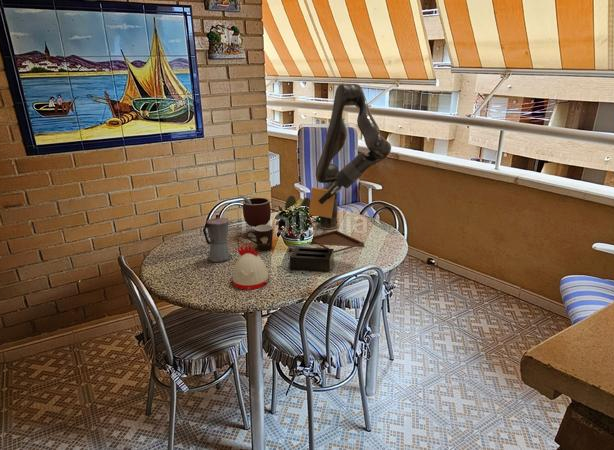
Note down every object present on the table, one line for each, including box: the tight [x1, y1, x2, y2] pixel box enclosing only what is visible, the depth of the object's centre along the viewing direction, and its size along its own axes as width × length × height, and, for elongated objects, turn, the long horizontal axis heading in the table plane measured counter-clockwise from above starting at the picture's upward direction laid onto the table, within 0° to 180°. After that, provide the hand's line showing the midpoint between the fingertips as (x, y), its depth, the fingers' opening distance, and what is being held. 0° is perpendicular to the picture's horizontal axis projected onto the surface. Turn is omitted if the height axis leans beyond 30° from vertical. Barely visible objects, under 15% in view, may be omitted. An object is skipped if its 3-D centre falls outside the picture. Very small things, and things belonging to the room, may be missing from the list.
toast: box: [309, 186, 335, 218], centre depth 174 cm, size 10×1×12 cm, turn 78°
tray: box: [310, 230, 365, 254], centre depth 191 cm, size 21×17×2 cm
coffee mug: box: [245, 224, 274, 252], centre depth 188 cm, size 12×9×10 cm
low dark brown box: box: [289, 246, 335, 273], centre depth 166 cm, size 17×11×7 cm, turn 78°
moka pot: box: [202, 214, 230, 263], centre depth 175 cm, size 10×15×20 cm, turn 155°
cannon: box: [284, 195, 311, 210], centre depth 226 cm, size 25×12×11 cm, turn 152°
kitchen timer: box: [231, 244, 270, 290], centre depth 156 cm, size 14×14×15 cm
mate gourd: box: [239, 194, 272, 239], centre depth 205 cm, size 16×14×20 cm
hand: (320, 201), depth 174 cm, fingers closed on toast, 1 cm apart
